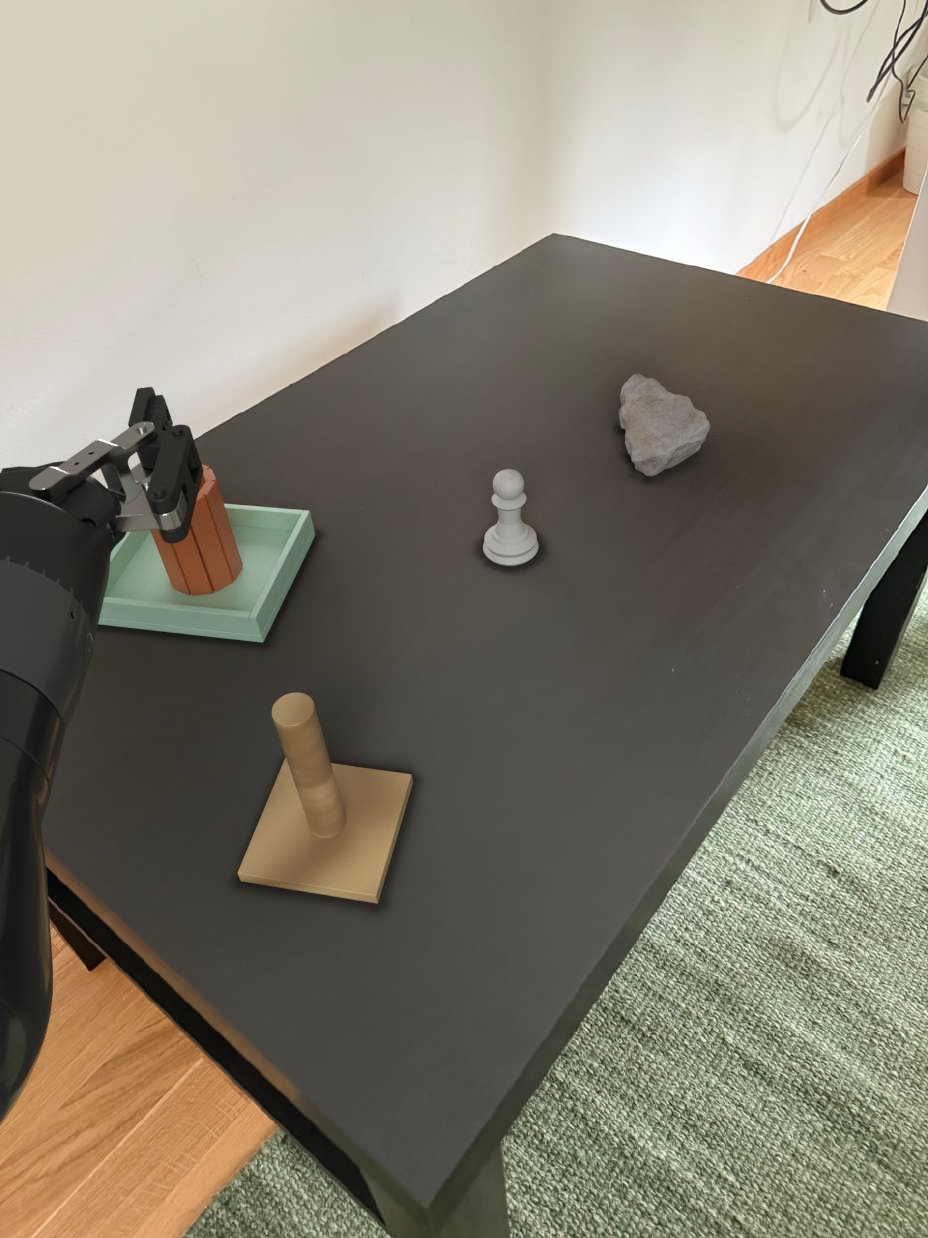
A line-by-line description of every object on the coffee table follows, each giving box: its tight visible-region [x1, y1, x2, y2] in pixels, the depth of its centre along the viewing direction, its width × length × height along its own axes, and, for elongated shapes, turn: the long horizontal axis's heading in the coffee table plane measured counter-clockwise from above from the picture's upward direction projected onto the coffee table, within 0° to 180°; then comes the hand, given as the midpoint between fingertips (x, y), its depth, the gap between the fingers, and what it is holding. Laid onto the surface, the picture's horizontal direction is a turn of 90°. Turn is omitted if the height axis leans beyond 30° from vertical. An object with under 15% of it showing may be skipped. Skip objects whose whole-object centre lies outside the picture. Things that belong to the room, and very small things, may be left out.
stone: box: [618, 373, 711, 477], centre depth 86 cm, size 10×8×6 cm
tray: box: [98, 503, 316, 643], centre depth 78 cm, size 15×13×3 cm
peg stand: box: [237, 692, 414, 904], centre depth 56 cm, size 9×9×12 cm
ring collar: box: [150, 464, 243, 596], centre depth 75 cm, size 6×6×9 cm
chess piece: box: [482, 468, 540, 567], centre depth 76 cm, size 5×5×8 cm
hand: (68, 411), depth 48 cm, fingers open, 8 cm apart
